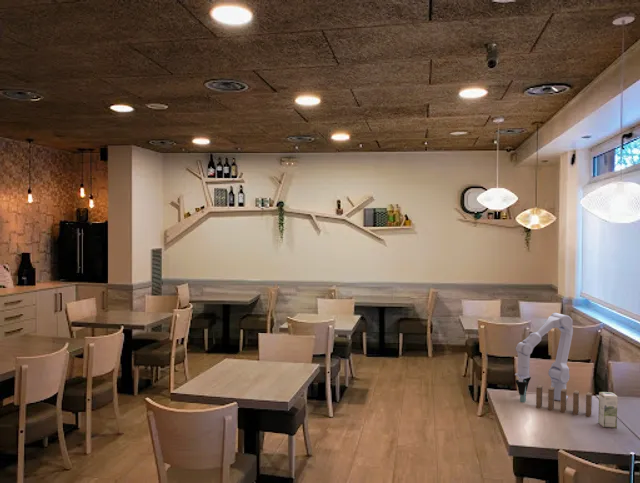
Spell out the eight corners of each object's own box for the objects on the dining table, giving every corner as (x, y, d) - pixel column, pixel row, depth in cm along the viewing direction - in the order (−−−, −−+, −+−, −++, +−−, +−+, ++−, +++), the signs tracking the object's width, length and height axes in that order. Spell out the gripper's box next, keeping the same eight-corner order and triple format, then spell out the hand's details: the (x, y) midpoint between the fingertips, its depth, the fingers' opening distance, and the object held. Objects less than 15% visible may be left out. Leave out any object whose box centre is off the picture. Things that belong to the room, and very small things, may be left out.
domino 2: (537, 404, 270) (538, 385, 270) (542, 405, 269) (542, 385, 269) (536, 407, 266) (536, 387, 265) (540, 408, 265) (540, 388, 264)
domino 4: (561, 408, 264) (562, 388, 264) (566, 409, 263) (566, 389, 263) (560, 411, 260) (560, 391, 260) (564, 412, 259) (565, 391, 259)
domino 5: (574, 410, 262) (574, 390, 261) (578, 411, 261) (579, 391, 260) (572, 413, 257) (573, 393, 257) (577, 414, 256) (578, 393, 256)
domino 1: (521, 399, 279) (522, 380, 278) (525, 400, 278) (526, 380, 277) (519, 401, 274) (520, 382, 274) (524, 402, 273) (524, 383, 273)
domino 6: (586, 412, 259) (587, 392, 258) (591, 413, 258) (591, 392, 257) (585, 416, 254) (586, 394, 254) (590, 416, 253) (590, 395, 253)
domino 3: (549, 406, 267) (549, 386, 267) (554, 407, 266) (554, 387, 266) (548, 409, 263) (548, 389, 263) (552, 410, 262) (552, 390, 262)
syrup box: (611, 423, 245) (612, 391, 245) (617, 428, 239) (617, 395, 239) (598, 422, 245) (598, 391, 245) (603, 427, 240) (604, 395, 239)
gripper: (518, 362, 284) (517, 387, 284) (512, 368, 271) (511, 395, 272) (532, 364, 280) (531, 390, 281) (527, 370, 268) (526, 397, 268)
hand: (523, 392), depth 276 cm, fingers open, 7 cm apart
